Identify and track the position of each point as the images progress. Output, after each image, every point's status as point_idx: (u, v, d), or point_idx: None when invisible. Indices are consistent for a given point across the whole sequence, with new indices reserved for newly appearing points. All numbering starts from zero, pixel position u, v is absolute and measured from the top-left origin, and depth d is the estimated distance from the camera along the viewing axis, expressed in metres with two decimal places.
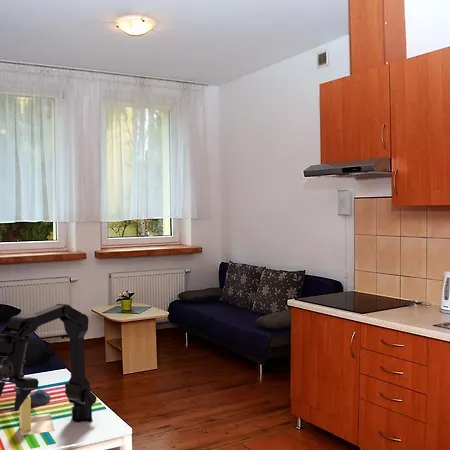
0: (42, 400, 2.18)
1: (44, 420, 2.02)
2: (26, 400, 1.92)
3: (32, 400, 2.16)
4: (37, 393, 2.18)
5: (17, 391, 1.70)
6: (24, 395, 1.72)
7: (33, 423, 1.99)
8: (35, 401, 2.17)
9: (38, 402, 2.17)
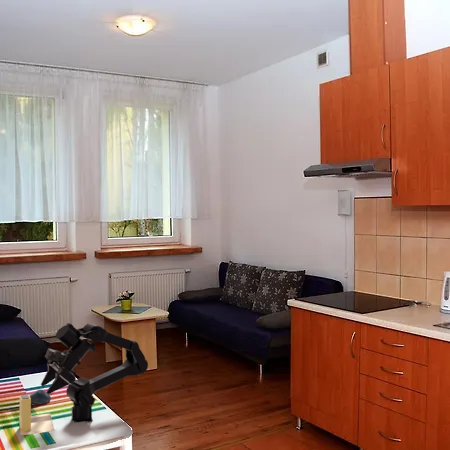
0: (42, 400, 2.19)
1: (44, 420, 2.02)
2: (26, 400, 1.92)
3: (33, 400, 2.16)
4: (38, 393, 2.18)
5: (56, 376, 1.93)
6: (60, 385, 1.94)
7: (33, 423, 1.99)
8: (36, 401, 2.17)
9: (39, 402, 2.17)
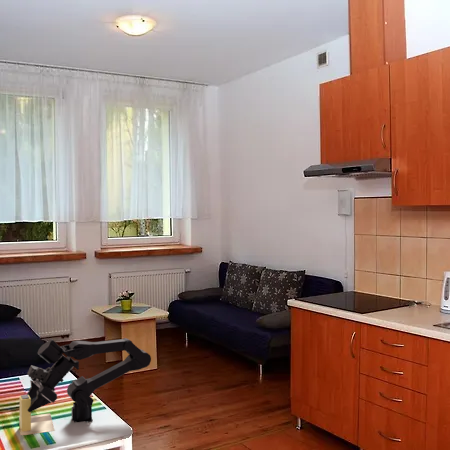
0: None
1: (44, 420, 2.02)
2: (26, 400, 1.92)
3: (33, 400, 2.16)
4: None
5: (37, 394, 1.90)
6: (41, 403, 1.91)
7: (33, 423, 1.99)
8: None
9: None
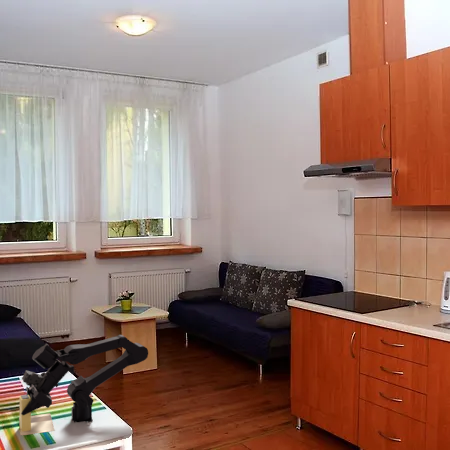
0: None
1: (44, 420, 2.02)
2: (26, 400, 1.92)
3: None
4: None
5: (31, 397, 1.91)
6: (35, 406, 1.92)
7: (33, 423, 1.99)
8: None
9: None
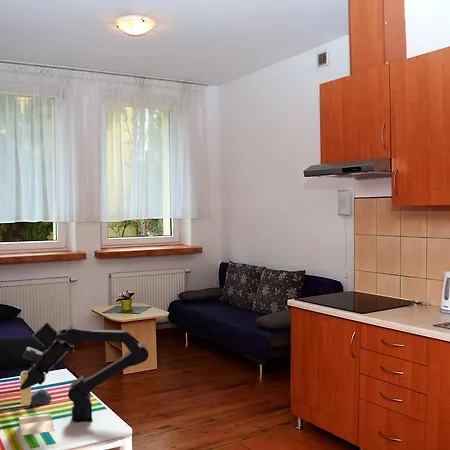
0: (44, 400, 2.19)
1: (44, 420, 2.02)
2: (25, 375, 1.97)
3: (34, 400, 2.16)
4: (39, 393, 2.18)
5: None
6: (32, 382, 1.97)
7: (33, 423, 1.99)
8: (37, 401, 2.17)
9: (40, 402, 2.17)
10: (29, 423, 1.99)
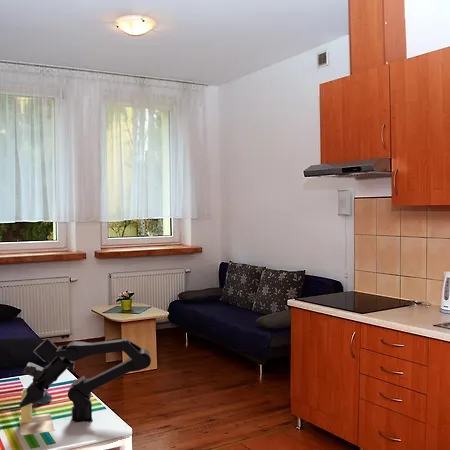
0: (45, 400, 2.19)
1: (44, 420, 2.02)
2: (25, 393, 1.99)
3: None
4: None
5: (27, 391, 1.95)
6: (31, 399, 1.96)
7: (33, 423, 1.99)
8: (38, 401, 2.17)
9: (41, 402, 2.17)
10: (29, 423, 1.99)
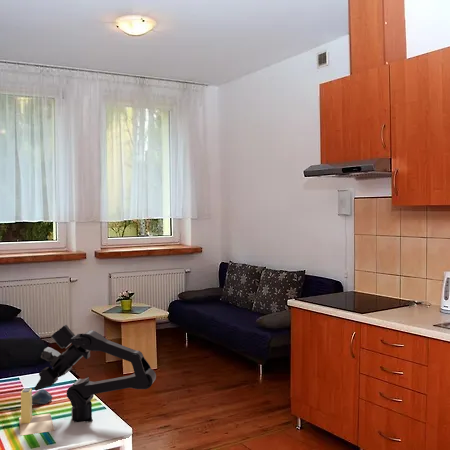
0: (45, 400, 2.19)
1: (44, 420, 2.02)
2: (25, 393, 1.99)
3: (36, 400, 2.16)
4: (40, 393, 2.18)
5: None
6: (44, 384, 1.99)
7: (33, 423, 1.99)
8: (39, 401, 2.17)
9: (42, 402, 2.18)
10: (29, 423, 1.99)
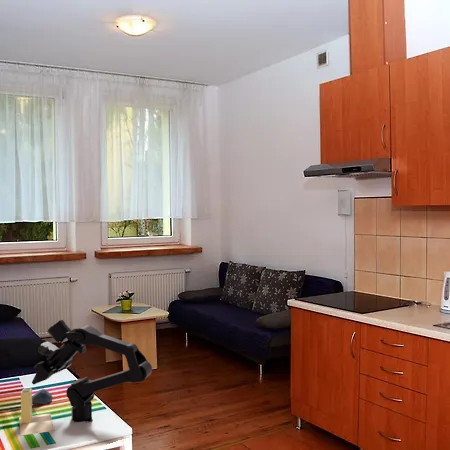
0: (46, 400, 2.19)
1: (44, 420, 2.02)
2: (25, 393, 1.99)
3: (37, 400, 2.16)
4: (41, 393, 2.18)
5: None
6: (40, 378, 2.01)
7: (33, 423, 1.99)
8: (39, 401, 2.17)
9: (42, 402, 2.18)
10: (29, 423, 1.99)
